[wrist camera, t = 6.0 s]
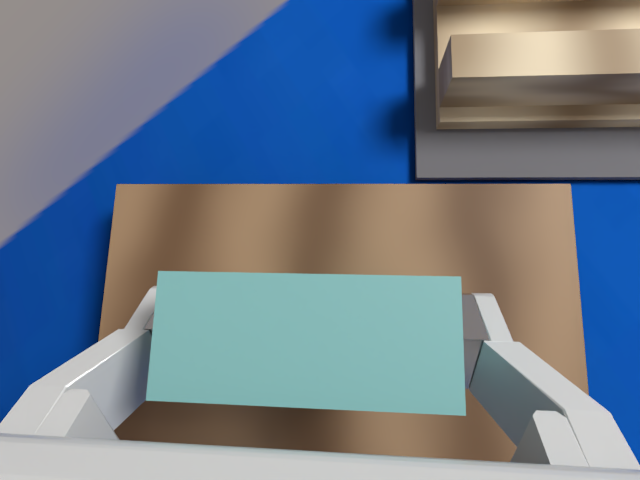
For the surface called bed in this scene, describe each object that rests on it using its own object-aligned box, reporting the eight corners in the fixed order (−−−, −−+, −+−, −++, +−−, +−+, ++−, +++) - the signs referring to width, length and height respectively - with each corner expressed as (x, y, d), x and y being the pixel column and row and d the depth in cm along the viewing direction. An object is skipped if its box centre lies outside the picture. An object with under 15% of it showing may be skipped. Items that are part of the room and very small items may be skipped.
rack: (714, -41, 20) (784, -109, 17) (742, 125, 18) (825, 86, 15) (432, -28, 21) (446, -89, 18) (436, 129, 20) (452, 94, 16)
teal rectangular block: (402, 294, 16) (461, 276, 8) (403, 356, 16) (466, 416, 7) (260, 291, 17) (158, 270, 8) (257, 351, 16) (145, 400, 8)
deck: (542, 199, 19) (570, 183, 17) (562, 469, 17) (597, 497, 15) (144, 198, 21) (116, 184, 18) (119, 443, 19) (83, 464, 16)
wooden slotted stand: (765, -62, 20) (774, -70, 20) (813, 179, 18) (823, 176, 18) (411, -45, 22) (412, -51, 22) (415, 180, 20) (416, 177, 19)
